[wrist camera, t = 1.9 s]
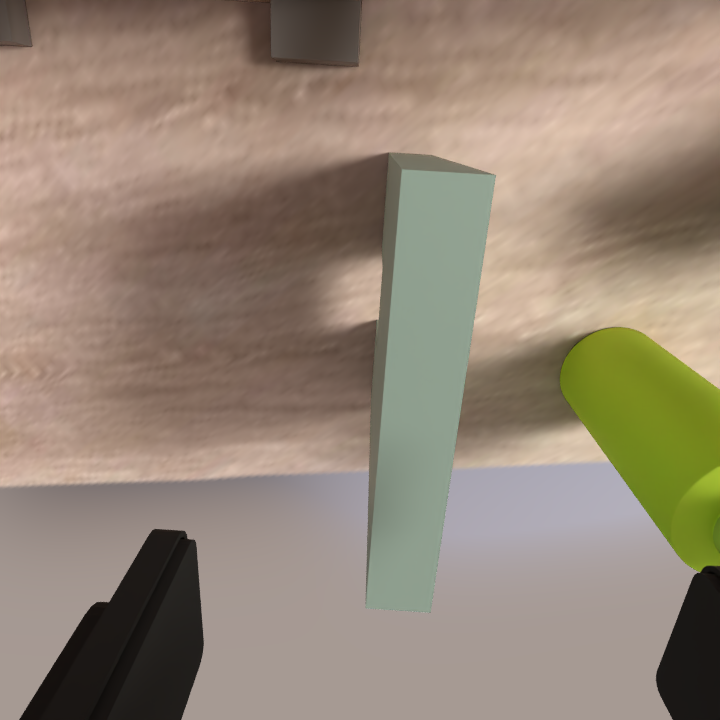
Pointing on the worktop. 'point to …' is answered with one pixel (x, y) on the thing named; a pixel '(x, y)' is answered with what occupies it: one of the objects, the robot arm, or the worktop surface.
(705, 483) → the soap dispenser
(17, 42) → the walnut slotted board
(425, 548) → the sage slotted plate
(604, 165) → the worktop surface
